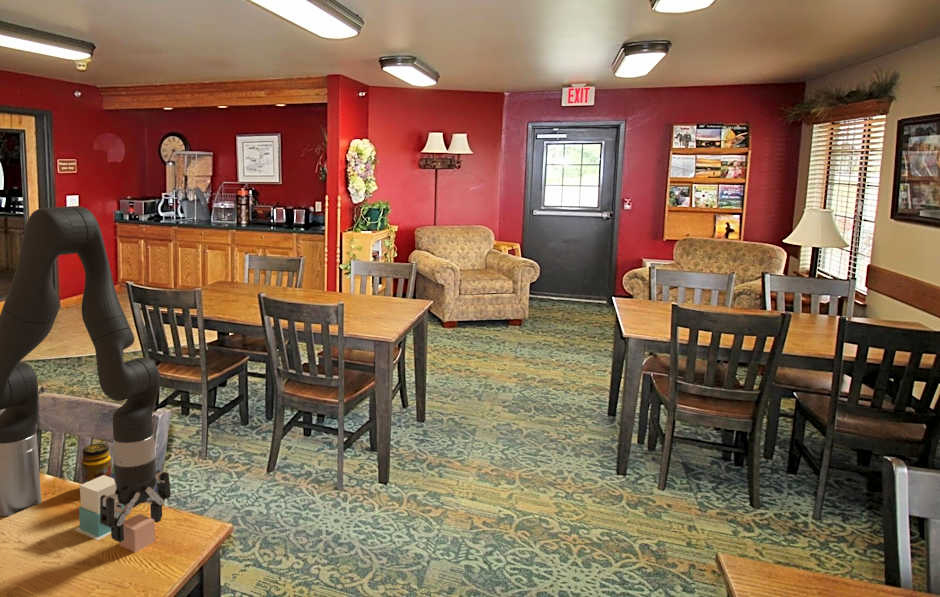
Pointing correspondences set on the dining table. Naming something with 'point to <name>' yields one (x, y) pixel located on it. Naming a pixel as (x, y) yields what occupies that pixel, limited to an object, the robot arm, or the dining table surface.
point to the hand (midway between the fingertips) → (138, 530)
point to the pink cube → (138, 532)
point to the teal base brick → (93, 522)
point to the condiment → (95, 462)
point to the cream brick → (96, 492)
